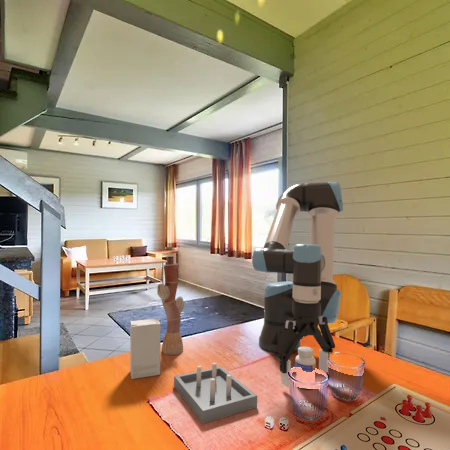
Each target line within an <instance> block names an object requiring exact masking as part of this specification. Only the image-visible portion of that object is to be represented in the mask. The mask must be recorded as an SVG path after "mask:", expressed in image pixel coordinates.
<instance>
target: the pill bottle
mask: <svg viewBox="0 0 450 450" xmlns="http://www.w3.org/2000/svg"><path fill="white" fill-rule="evenodd" d="M297 353H298V354H297V355H296V356H295V363H294V364H295V368H296V367H301V368H302V370H303V371H306V372H312V371H313V370H315V368H316V369H317V363H316V362H317V360H316V358H315V357H314V349H313V348H312V347H310V346H301V347H299V348H298V351H297Z"/></svg>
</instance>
